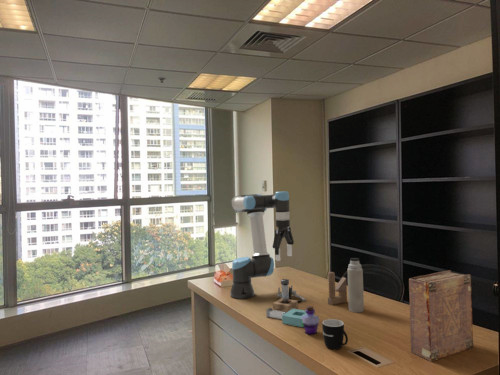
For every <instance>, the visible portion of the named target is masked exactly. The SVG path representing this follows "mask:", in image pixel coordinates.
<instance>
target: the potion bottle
mask: <svg viewBox="0 0 500 375" xmlns="http://www.w3.org/2000/svg"><path fill="white" fill-rule="evenodd" d="M305 310H306V313H307V315H304V316H302V321H303V322H302V326H303V325H304V326H303V327H302V328H304V333H305V335H308V336H311V335H312V336H314V335H316V334H318V333H317V331H318V326H319V323H320V317H319V316H318V315H315V313H316V311H315V310H316V309H315V308H314V306H310V305H307V306H306V308H305ZM313 313H314V315H313Z"/></svg>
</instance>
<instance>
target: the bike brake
mask: <svg viewBox="0 0 500 375" xmlns="http://www.w3.org/2000/svg"><path fill="white" fill-rule="evenodd" d="M293 286H294V285H290V286H288V291H289V300H292V296H293V297H295V298H298V299H299V300H297V301H298V304H299V303H302V302H304V301H305V302H306V301H307V298H304V297H303V296H301V295H300V294H298V293H297V290H293ZM276 297H277V298H280V299H281V298H282V291H281V288H280V287H278V289H277V293H276Z"/></svg>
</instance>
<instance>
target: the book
mask: <svg viewBox="0 0 500 375" xmlns="http://www.w3.org/2000/svg"><path fill="white" fill-rule="evenodd" d="M408 292H409V293H408V294H409V320H410V321H409V322H410V323H409V325H410V350H411V351H410V352H411V354H414V355H416V356H418V357H420V358H422V359H424V358H425V360H426V359H427V361H429V362H431V361H432V362H434V361H433V360H435V361H437V360H436V359H438V360H441V359H443V357H444V358H446V356H447V357H449V355H450V356H452V354H453V355H456V354H459V353H462V352H465V351H468V350H470V348H471V349H473V348H474V331H473V330H474V328H473V326H474V325H473V305H472V304H473V303H472V276H471V274H461V273H455V272H452V271H451V269H450V270H445V271H438V272H434V273H430V274H425V275H418V276H414V277H410V278H408ZM467 349H468V350H467ZM461 351H462V352H461ZM458 352H459V353H458ZM455 353H456V354H455ZM440 358H441V359H440Z"/></svg>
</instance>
